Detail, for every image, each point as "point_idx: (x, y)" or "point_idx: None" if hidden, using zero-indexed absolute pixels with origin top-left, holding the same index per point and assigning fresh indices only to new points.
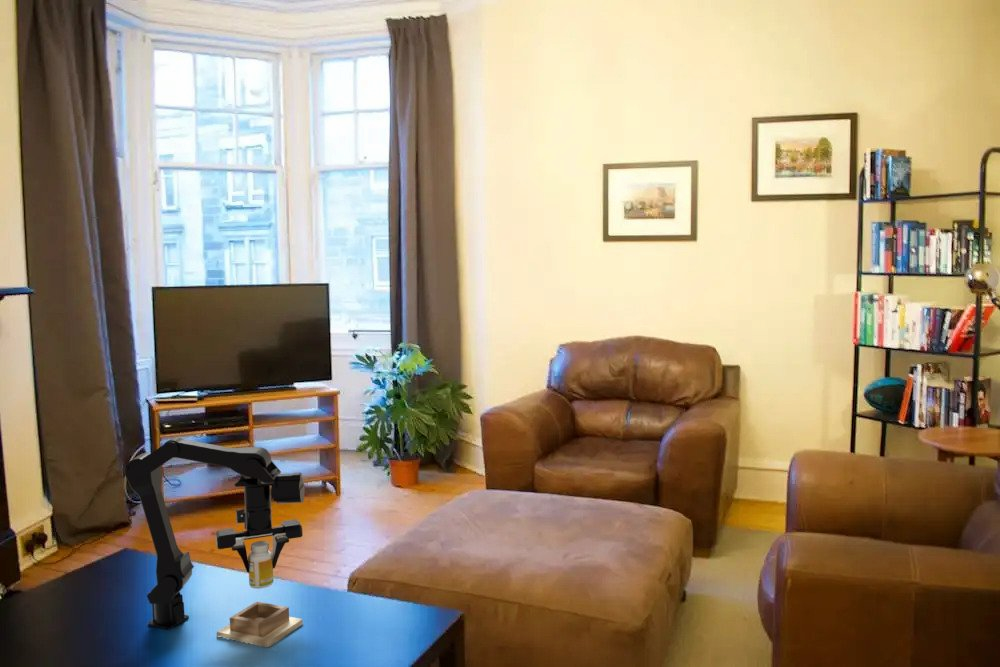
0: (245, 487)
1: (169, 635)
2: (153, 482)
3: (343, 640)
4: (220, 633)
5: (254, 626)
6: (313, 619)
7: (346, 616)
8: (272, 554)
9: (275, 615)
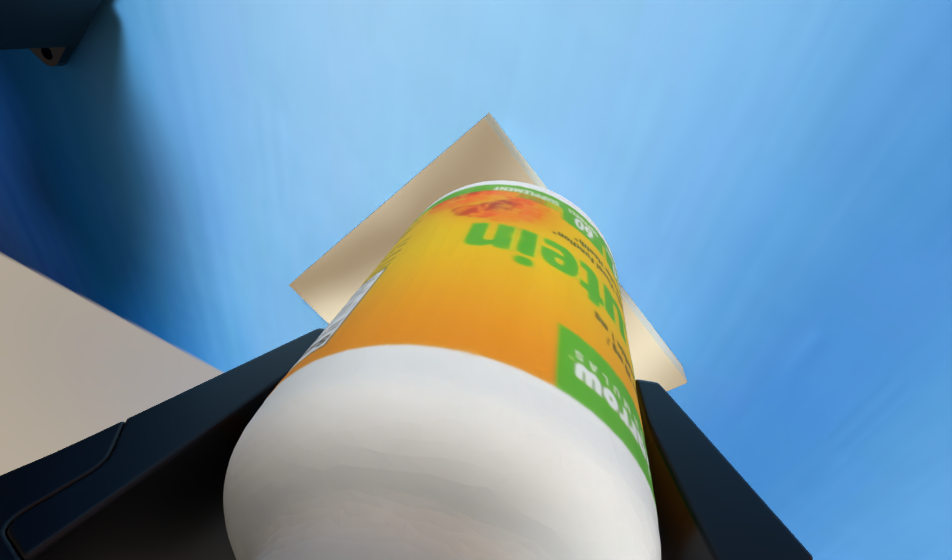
0: None
1: (93, 137)
2: None
3: None
4: (308, 299)
5: None
6: (755, 348)
7: (919, 408)
8: (685, 517)
9: None
